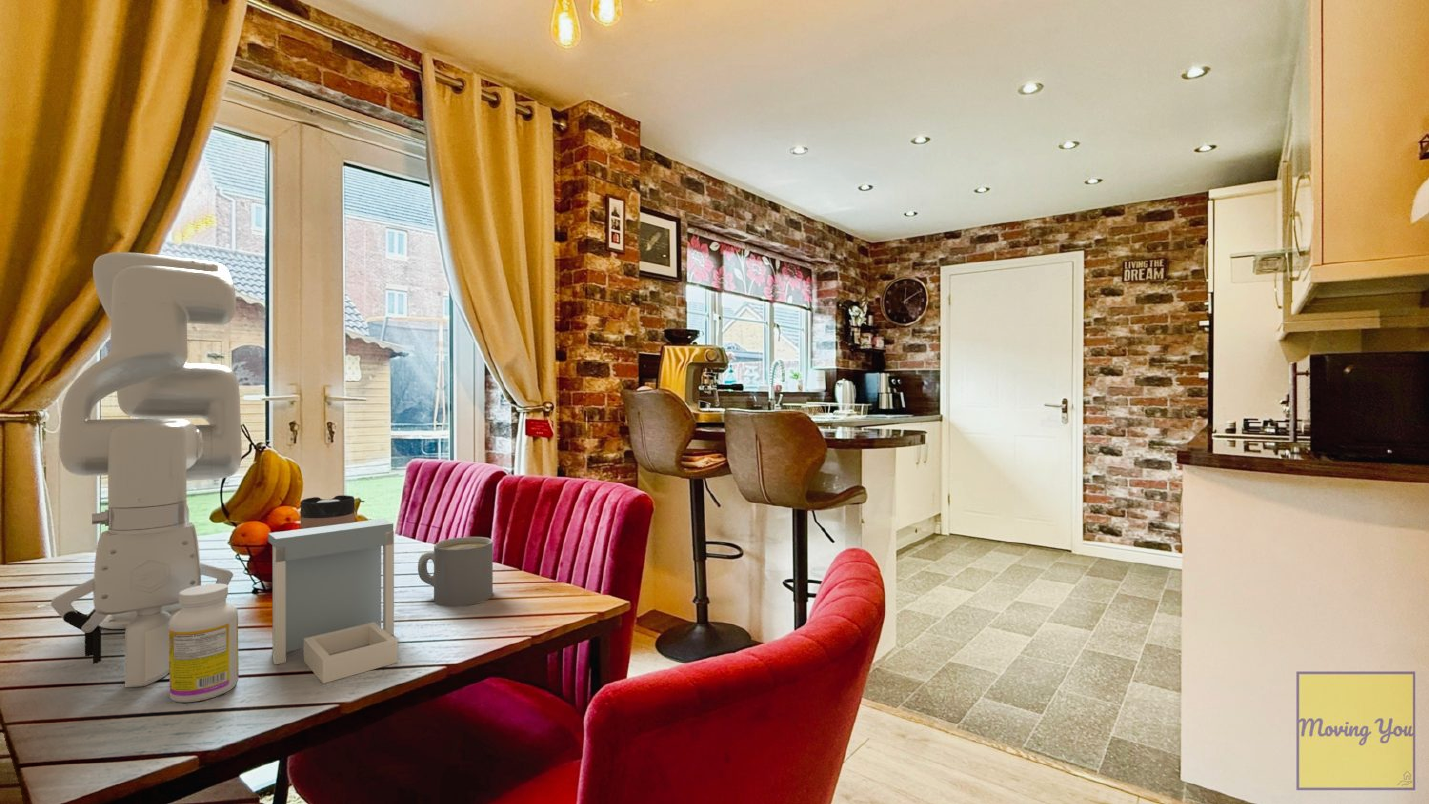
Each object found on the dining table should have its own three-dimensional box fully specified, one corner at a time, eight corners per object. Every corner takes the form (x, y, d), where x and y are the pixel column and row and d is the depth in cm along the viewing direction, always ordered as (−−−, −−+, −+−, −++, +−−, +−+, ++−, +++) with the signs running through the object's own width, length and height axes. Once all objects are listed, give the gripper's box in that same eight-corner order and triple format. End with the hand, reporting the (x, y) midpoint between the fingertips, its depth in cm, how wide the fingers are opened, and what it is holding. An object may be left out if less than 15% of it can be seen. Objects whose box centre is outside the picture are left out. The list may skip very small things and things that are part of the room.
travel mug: (329, 631, 97) (329, 503, 96) (287, 627, 98) (287, 501, 98) (366, 614, 104) (366, 496, 104) (327, 611, 106) (327, 494, 105)
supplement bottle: (196, 680, 80) (196, 581, 80) (250, 678, 81) (250, 580, 81) (154, 706, 73) (153, 597, 73) (213, 704, 74) (213, 596, 74)
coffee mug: (503, 591, 117) (503, 538, 117) (468, 609, 107) (468, 551, 107) (444, 585, 121) (444, 534, 121) (405, 601, 111) (405, 545, 111)
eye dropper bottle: (184, 671, 83) (184, 581, 82) (134, 690, 77) (133, 594, 77) (162, 667, 84) (162, 578, 84) (111, 685, 79) (111, 591, 78)
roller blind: (267, 653, 88) (267, 533, 88) (383, 625, 99) (383, 518, 99) (275, 664, 85) (274, 539, 85) (394, 634, 96) (393, 523, 96)
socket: (303, 660, 86) (303, 638, 86) (374, 642, 93) (374, 622, 93) (322, 683, 79) (322, 660, 79) (397, 662, 86) (397, 640, 86)
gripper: (49, 532, 72) (50, 680, 72) (237, 512, 84) (237, 638, 84) (51, 522, 77) (52, 660, 77) (228, 505, 89) (228, 624, 89)
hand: (149, 649), depth 80 cm, fingers open, 9 cm apart
